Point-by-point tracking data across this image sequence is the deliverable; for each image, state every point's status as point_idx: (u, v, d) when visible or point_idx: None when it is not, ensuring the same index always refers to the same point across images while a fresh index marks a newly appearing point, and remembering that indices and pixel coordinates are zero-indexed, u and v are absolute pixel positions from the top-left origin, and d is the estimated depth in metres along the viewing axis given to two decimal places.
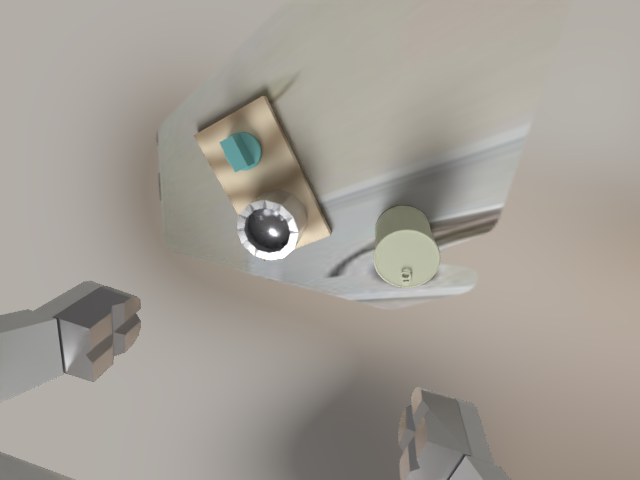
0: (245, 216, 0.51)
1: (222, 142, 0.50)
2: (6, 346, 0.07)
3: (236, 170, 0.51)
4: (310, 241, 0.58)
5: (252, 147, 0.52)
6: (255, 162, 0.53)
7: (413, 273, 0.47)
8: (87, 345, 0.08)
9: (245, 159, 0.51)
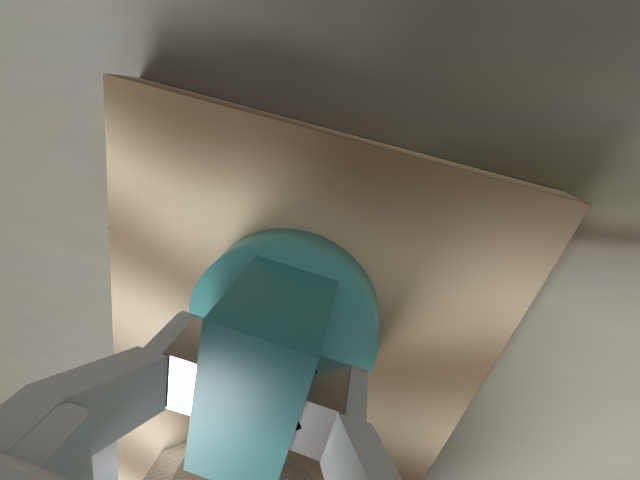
0: None
1: (224, 336, 0.06)
2: (125, 387, 0.07)
3: (196, 469, 0.08)
4: None
5: None
6: None
7: None
8: None
9: None
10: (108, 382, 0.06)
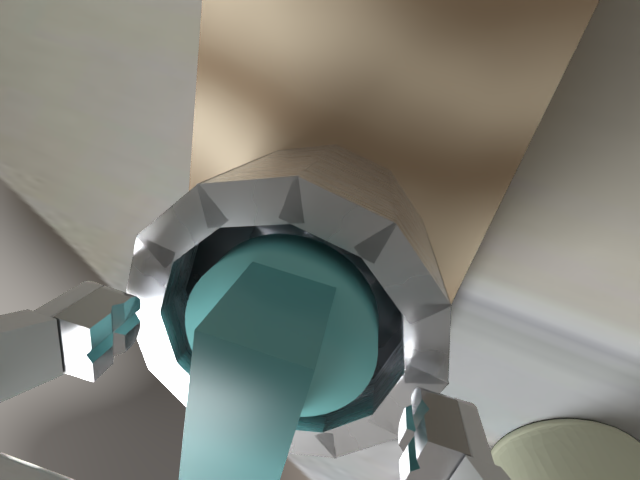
0: (225, 217, 0.09)
1: (217, 346, 0.06)
2: (6, 346, 0.07)
3: None
4: None
5: (342, 369, 0.10)
6: (302, 411, 0.11)
7: None
8: (87, 344, 0.08)
9: None
10: None
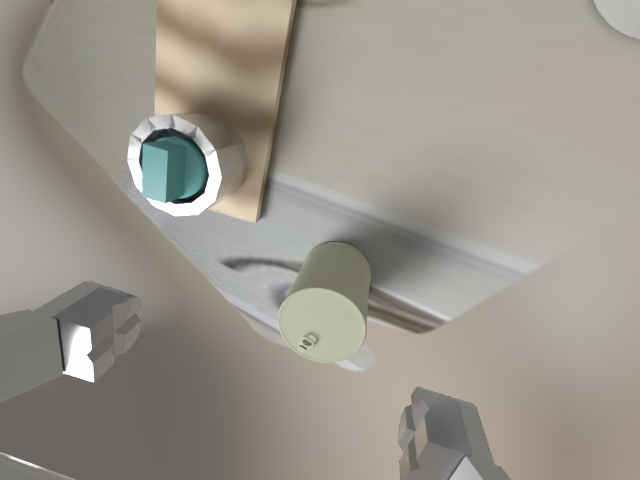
0: (155, 126, 0.31)
1: (147, 147, 0.29)
2: (6, 346, 0.07)
3: (145, 195, 0.31)
4: (226, 212, 0.41)
5: (193, 176, 0.32)
6: (184, 195, 0.33)
7: (316, 344, 0.34)
8: (87, 345, 0.08)
9: (168, 192, 0.31)
10: None
